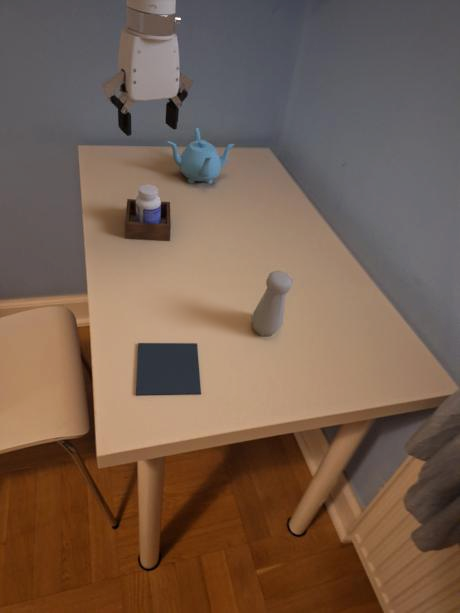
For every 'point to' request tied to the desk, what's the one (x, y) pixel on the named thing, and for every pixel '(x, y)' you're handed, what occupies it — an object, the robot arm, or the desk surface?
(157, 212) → the pill bottle
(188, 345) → the mat
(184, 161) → the teapot
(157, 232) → the caddy
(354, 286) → the desk surface
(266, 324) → the salt shaker
